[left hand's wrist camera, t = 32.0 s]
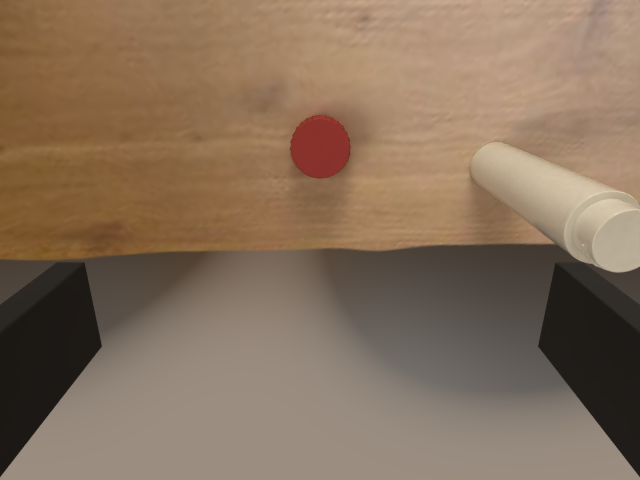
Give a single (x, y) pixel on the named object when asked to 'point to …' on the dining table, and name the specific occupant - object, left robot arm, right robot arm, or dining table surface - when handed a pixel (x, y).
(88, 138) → the dining table surface
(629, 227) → the cream slim bottle
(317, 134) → the lid
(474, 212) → the dining table surface
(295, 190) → the dining table surface
